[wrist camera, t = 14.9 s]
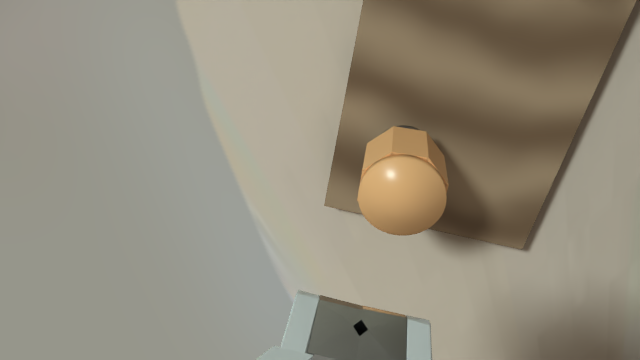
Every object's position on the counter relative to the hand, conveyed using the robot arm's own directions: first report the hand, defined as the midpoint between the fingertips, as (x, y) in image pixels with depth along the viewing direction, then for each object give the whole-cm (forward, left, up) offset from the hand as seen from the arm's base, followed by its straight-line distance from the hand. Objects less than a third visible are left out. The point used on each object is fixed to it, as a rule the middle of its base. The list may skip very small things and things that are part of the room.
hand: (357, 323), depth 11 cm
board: (+3, +5, -26) cm, 27 cm away
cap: (+7, +2, -23) cm, 24 cm away
